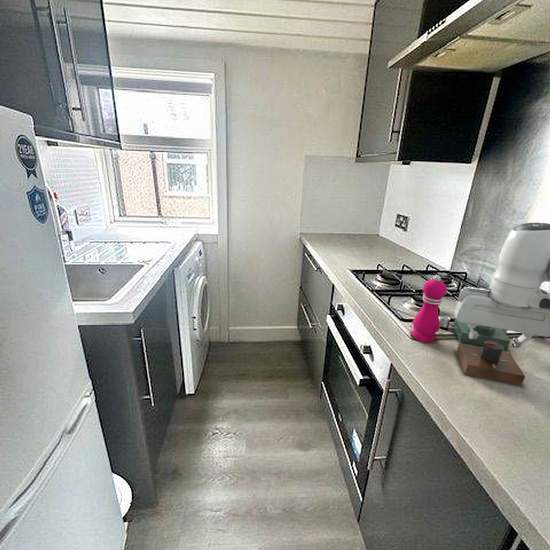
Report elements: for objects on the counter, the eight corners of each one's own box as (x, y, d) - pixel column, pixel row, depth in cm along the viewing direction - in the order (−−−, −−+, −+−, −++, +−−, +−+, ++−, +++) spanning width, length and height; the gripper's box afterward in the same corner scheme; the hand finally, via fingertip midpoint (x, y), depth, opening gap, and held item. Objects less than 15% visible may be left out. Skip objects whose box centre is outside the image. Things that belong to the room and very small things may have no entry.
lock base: (506, 361, 81) (510, 351, 80) (521, 386, 72) (525, 375, 71) (456, 351, 84) (459, 342, 83) (464, 374, 76) (467, 363, 74)
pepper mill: (410, 340, 89) (424, 277, 82) (410, 328, 96) (423, 269, 88) (437, 346, 87) (454, 282, 79) (435, 333, 93) (450, 273, 86)
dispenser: (495, 332, 94) (500, 318, 93) (507, 350, 86) (512, 335, 84) (452, 325, 98) (456, 311, 96) (459, 342, 89) (463, 327, 87)
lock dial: (496, 355, 78) (501, 341, 77) (501, 364, 75) (506, 349, 73) (478, 351, 79) (483, 337, 78) (482, 360, 76) (487, 346, 74)
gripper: (464, 290, 71) (450, 340, 76) (572, 305, 65) (548, 359, 70) (458, 280, 76) (445, 327, 81) (557, 294, 70) (536, 344, 75)
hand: (493, 342), depth 75 cm, fingers open, 8 cm apart
